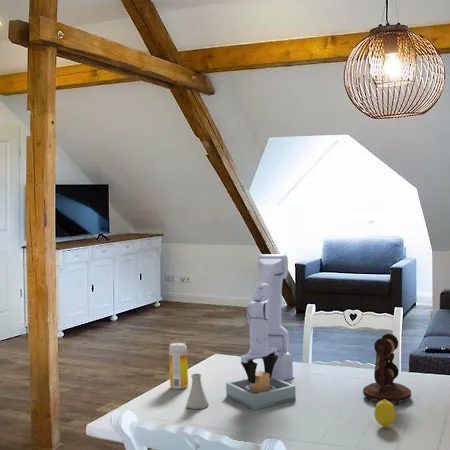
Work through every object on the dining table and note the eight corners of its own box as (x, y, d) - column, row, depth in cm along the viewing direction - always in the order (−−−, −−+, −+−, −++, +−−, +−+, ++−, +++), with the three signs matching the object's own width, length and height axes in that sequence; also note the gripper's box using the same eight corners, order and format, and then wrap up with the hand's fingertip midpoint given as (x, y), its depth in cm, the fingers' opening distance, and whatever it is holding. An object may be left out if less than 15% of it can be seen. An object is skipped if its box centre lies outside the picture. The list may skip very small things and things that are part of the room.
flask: (212, 403, 207) (211, 372, 206) (204, 410, 200) (202, 379, 200) (191, 401, 210) (189, 370, 209) (182, 408, 203) (181, 377, 202)
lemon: (372, 424, 185) (371, 396, 184) (391, 423, 185) (390, 395, 185) (378, 431, 180) (378, 403, 179) (398, 430, 180) (397, 402, 179)
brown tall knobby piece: (371, 388, 216) (370, 329, 215) (416, 394, 209) (415, 333, 207) (356, 402, 204) (355, 339, 202) (403, 409, 196) (403, 343, 195)
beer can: (189, 384, 227) (187, 341, 226) (186, 390, 221) (185, 346, 220) (172, 384, 227) (170, 342, 226) (169, 389, 221) (167, 346, 220)
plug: (260, 391, 213) (259, 370, 213) (269, 394, 210) (269, 373, 210) (250, 395, 210) (249, 373, 210) (260, 398, 207) (259, 376, 207)
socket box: (266, 387, 221) (266, 374, 221) (295, 399, 208) (295, 385, 207) (226, 396, 213) (226, 382, 213) (253, 410, 199) (253, 395, 199)
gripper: (265, 332, 217) (266, 372, 218) (233, 340, 207) (235, 382, 208) (281, 335, 211) (282, 376, 212) (249, 344, 202) (250, 387, 203)
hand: (260, 379), depth 210 cm, fingers open, 7 cm apart
